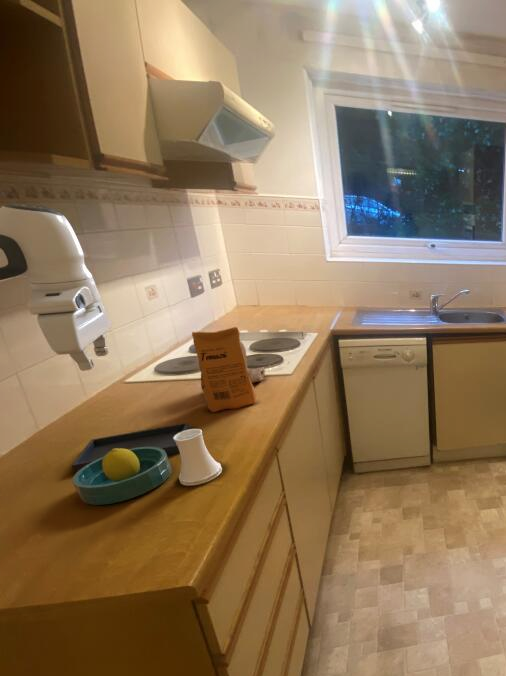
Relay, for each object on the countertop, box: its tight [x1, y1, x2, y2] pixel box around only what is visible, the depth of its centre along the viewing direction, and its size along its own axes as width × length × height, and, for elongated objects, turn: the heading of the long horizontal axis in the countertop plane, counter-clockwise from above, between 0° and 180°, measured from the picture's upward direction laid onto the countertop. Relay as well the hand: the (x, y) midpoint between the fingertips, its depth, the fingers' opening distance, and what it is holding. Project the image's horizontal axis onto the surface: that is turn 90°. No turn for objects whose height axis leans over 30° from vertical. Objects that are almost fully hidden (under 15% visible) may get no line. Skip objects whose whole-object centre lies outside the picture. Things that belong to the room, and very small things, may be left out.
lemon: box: [102, 448, 140, 482], centre depth 88 cm, size 6×6×8 cm
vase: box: [173, 428, 223, 486], centre depth 91 cm, size 8×8×10 cm
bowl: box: [72, 447, 173, 506], centre depth 89 cm, size 15×15×4 cm
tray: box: [70, 422, 192, 474], centre depth 102 cm, size 19×12×2 cm, turn 116°
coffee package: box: [191, 326, 257, 413], centre depth 121 cm, size 10×12×22 cm
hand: (95, 361), depth 89 cm, fingers open, 8 cm apart
